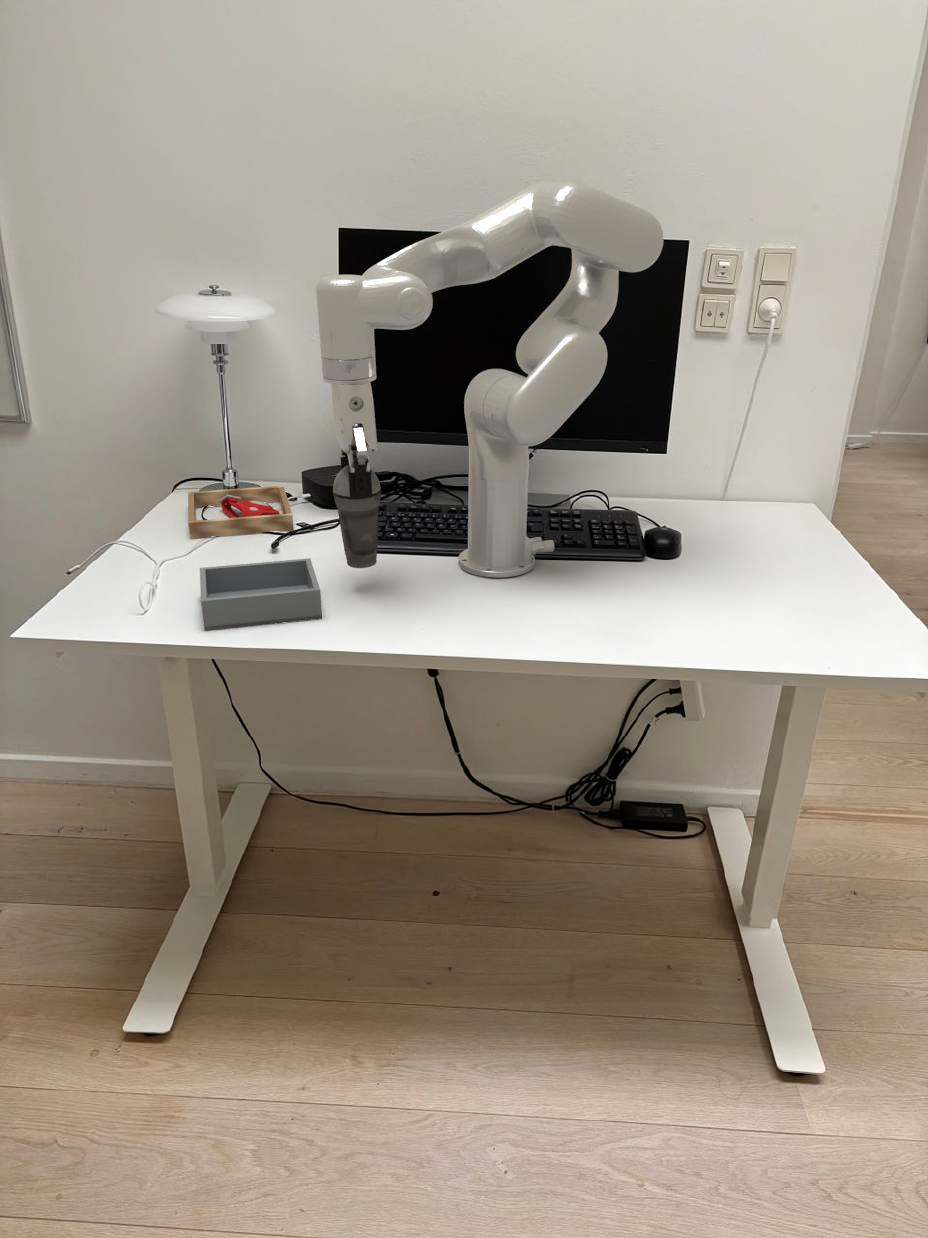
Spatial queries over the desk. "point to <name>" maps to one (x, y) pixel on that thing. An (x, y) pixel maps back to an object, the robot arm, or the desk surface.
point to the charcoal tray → (259, 594)
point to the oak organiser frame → (240, 523)
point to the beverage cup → (358, 520)
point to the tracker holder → (245, 507)
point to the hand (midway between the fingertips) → (356, 488)
